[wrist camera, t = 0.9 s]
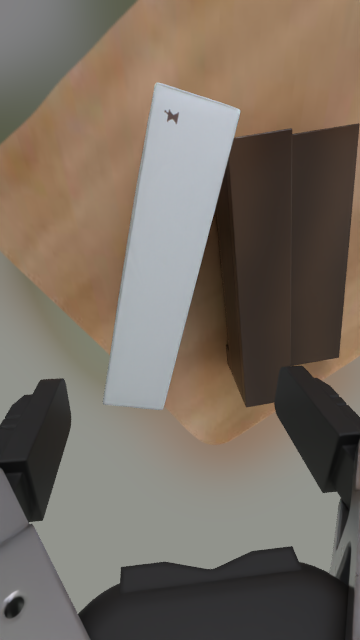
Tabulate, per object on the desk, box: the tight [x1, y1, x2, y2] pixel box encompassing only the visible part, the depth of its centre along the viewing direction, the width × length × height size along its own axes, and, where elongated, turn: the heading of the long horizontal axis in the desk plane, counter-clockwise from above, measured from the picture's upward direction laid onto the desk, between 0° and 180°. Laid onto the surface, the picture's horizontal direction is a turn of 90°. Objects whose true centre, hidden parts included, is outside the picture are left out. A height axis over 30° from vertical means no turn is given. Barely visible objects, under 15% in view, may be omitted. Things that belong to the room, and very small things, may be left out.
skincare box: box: [103, 83, 240, 410], centre depth 27 cm, size 21×6×16 cm, turn 167°
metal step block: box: [216, 123, 359, 407], centre depth 32 cm, size 14×26×9 cm, turn 8°
